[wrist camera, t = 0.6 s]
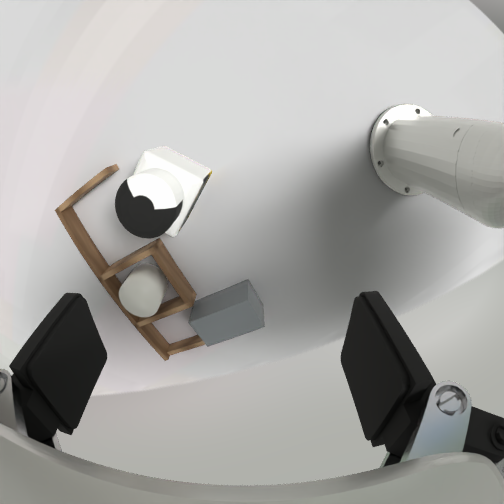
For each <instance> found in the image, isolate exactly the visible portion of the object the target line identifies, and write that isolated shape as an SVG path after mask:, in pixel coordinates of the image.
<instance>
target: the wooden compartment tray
mask: <svg viewBox="0 0 504 504" xmlns="http://www.w3.org/2000/svg"><path fill="white" fill-rule="evenodd" d="M117 170H119V168H118V166H117V164H115V165H113V166H110V167H107V168H105V169H104V170H102V171H101V172H100V173H99V174H97V175H96V176H95V177H93V178H92V179H91V180H90V181H88V182H87V183H86V184H85V185H84V186H82V187H81V188H80V189H79V190H77V191H76V192H75V193H74V194H73V195H72V196H70V197H69V198H68V199H67V200H66V201H65V202H64V203H62V204H61V205H60V206H59V207H58V208H57V209H56V210H55V211H56V213H57V215H58V217H59V218H60V220H61V222H62V224H63V225H64V227H65V229H66V230H67V232H68V234H69V235H70V237H71V239H72V240H73V242H74V243H75V245H76V247H77V248H78V250H79V251H80V253H81V254H82V256H83V257H84V259H85V260H86V262H87V263H88V265H89V266H90V268H91V269H92V271H93V272H94V274H95V275H96V277H97V278H98V279H99V281H100V282H101V284H102V285H103V286H104V288H105V289H106V290H107V292H108V293H109V294H110V296H111V297H112V298H113V300H114V301H115V302H116V304H117V305H118V306H119V308H120V309H121V310H122V311H123V313H124V314H125V315H126V316H127V318H128V319H129V320H130V321H131V323H132V324H133V325H134V326H135V327H136V329H137V330H138V331H139V332H140V333H141V334H142V336H143V337H144V338H145V339H146V340H147V341H148V343H149V344H150V345H151V346H152V347H153V348H154V349H155V350H156V352H157V353H158V354H159V355H160V356H161V357H162V358H163V359H164V360H168V359H169V356H170V355H173V354H176V353H179V352H183V351H186V350H189V349H192V348H195V347H198V346H202V345H205V343H204V342H203V340H202V339H201V338H200V337H199V335H196V336H193V337H190V338H187V339H184V340H181V341H178V342H175V343H172V344H169V343H168V342H167V341H166V340H165V339H164V338H163V336H162V335H161V334H160V333H159V332H158V330H157V329H156V328H155V327H154V325H153V324H152V323H151V322H154V321H156V320H159V319H162V318H164V317H167V316H169V315H172V314H175V313H177V312H180V311H182V310H185V309H187V308H190V307H192V306H193V305H194V301H195V298H196V293H195V291H194V290H193V288H192V287H191V285H190V284H189V283H188V281H187V280H186V278H185V277H184V275H183V274H182V272H181V271H180V269H179V268H178V266H177V264H176V263H175V261H174V260H173V258H172V257H171V255H170V254H169V252H168V251H167V249H166V247H165V246H164V244H163V243H162V241H161V239H160V238H159V239H157V240H155V241H153V242H151V243H149V244H148V245H146V246H144V247H142V248H140V249H139V250H137V251H135V252H133V253H131V254H130V255H128V256H126V257H124V258H123V259H121V260H119V261H117V262H116V263H114V264H112V265H110V266H109V265H108V264H107V262H106V261H105V259H104V258H103V256H102V255H101V253H100V252H99V250H98V249H97V247H96V246H95V244H94V242H93V241H92V239H91V238H90V236H89V235H88V233H87V231H86V230H85V228H84V226H83V225H82V223H81V221H80V220H79V218H78V216H77V214H76V213H75V211H74V209H73V208H72V205H73V204H74V203H76V202H77V201H78V200H79V199H81V198H82V197H83V196H84V195H86V194H87V193H88V192H89V191H91V190H92V189H93V188H94V187H96V186H97V185H98V184H100V183H101V182H102V181H104V180H105V179H106V178H108V177H109V176H110V175H112V174H113V173H114V172H116V171H117ZM150 255H152V256H153V258H154V259H155V261H156V262H157V264H158V265H159V267H160V268H161V270H162V271H163V273H164V274H165V276H166V277H167V279H168V280H169V282H170V283H171V284H172V286H173V287H174V289H175V290H176V292H177V293H178V294H179V297H176V298H174V299H172V300H169V301H167V302H164V303H162V304H160V306H159V309H158V311H157V312H156V313H155V314H154V315H152V316H150V317H139V316H136V315H133V314H132V313H130V312H129V311H127V310H126V309H125V308H124V306H123V305H122V303H121V301H120V299H119V290H120V287H121V286H122V284H121V282H120V281H119V280H118V278H117V277H116V275H115V274H116V273H118V272H120V271H122V270H124V269H125V268H127V267H129V266H131V265H133V264H135V263H137V262H138V261H140V260H142V259H144V258H146V257H148V256H150Z"/></svg>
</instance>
